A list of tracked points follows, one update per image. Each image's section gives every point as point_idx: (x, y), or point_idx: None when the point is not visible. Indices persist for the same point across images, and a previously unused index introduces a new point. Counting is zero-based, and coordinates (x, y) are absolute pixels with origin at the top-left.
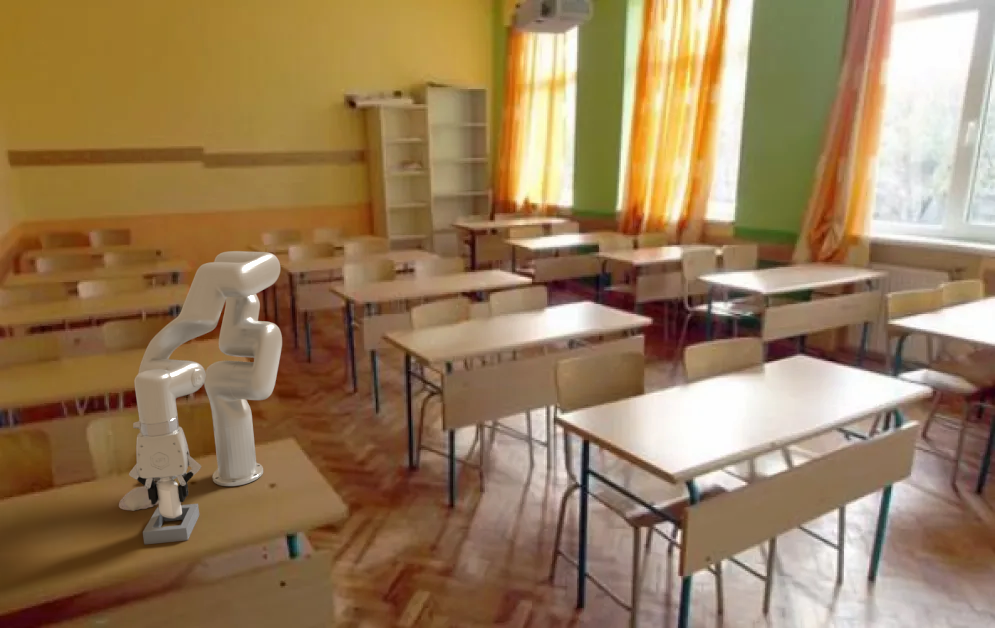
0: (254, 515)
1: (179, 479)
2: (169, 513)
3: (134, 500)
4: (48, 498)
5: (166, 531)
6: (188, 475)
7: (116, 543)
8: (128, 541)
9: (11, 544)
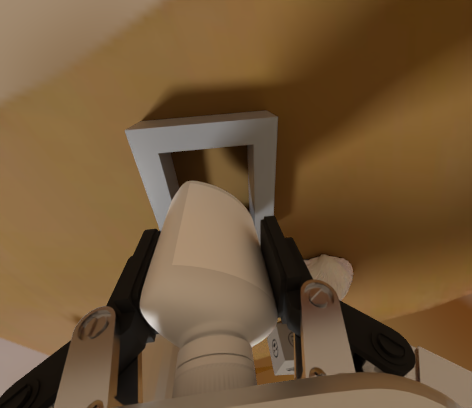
0: (26, 232)
1: (100, 358)
2: (202, 189)
3: (329, 274)
4: (456, 285)
5: (196, 122)
6: (15, 404)
7: (343, 126)
8: (314, 133)
9: None
